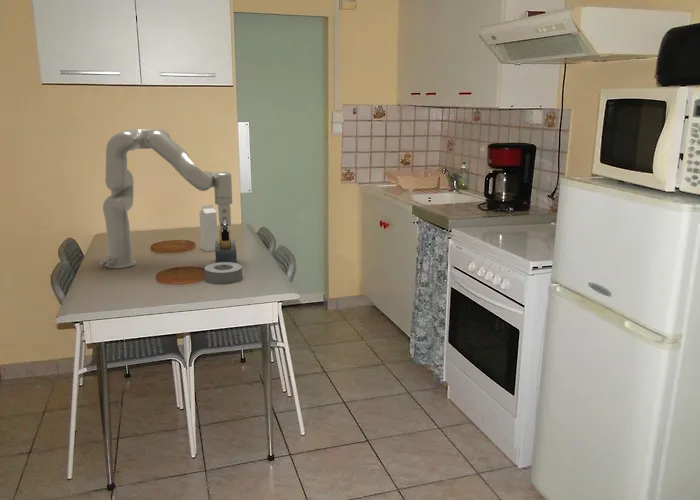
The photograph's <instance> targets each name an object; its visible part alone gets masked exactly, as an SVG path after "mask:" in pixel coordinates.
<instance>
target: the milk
mask: <svg viewBox="0 0 700 500" xmlns="http://www.w3.org/2000/svg"><path fill="white" fill-rule="evenodd" d="M217 217H218V216H217V211H216V210H215V208H214V205H213V204H207V205H202V206H201V210H200V211H199V226H200V228H199V230H200V231H199V232H200V249H201V250H202V251H205V252H212V251H215V243H216V241H215V239H218V240H219V238H218V237H219V236H218V219H217Z"/></svg>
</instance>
